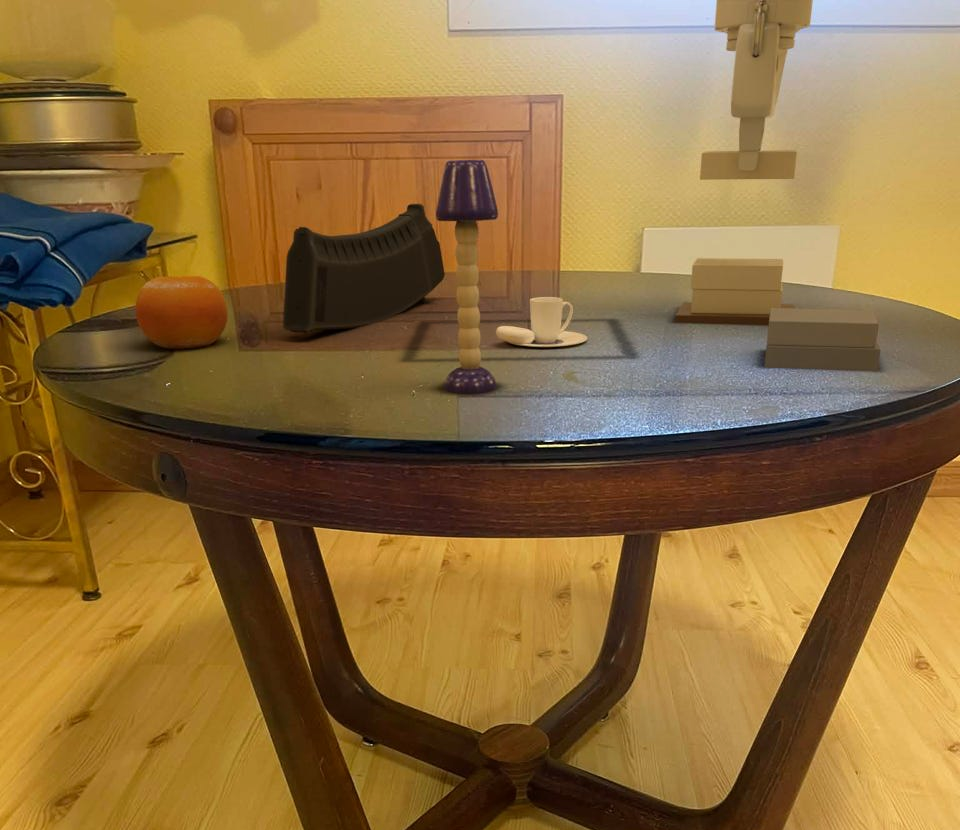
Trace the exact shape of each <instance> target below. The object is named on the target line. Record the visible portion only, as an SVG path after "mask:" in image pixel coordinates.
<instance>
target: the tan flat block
mask: <svg viewBox="0 0 960 830" xmlns="http://www.w3.org/2000/svg"><path fill="white" fill-rule="evenodd" d="M797 155H798V151H797V150H796V149H793V150H792V149H791V150H790V149H789V150H787V149H784V150H783V149H782V150H781V149H780V150H777V149H776V150H761V151H759V153H758V163H757V168H756V169H755V170H754V171H740V170H739V168H738V161H739V150H713V151H710V150H709V151H704V152H701V159H700V173H699V180H702V181H705V180H713V181H715V180H794V179H795V174H796V164H797V157H798V156H797Z"/></svg>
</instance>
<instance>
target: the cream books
mask: <svg viewBox="0 0 960 830" xmlns="http://www.w3.org/2000/svg"><path fill="white" fill-rule="evenodd" d="M783 269H784V259H783V258H726V257H725V258H723V257H722V258H720V257H719V258H715V257H714V258H712V257H705V258H704V257H703V258H702V257H697V258H696V260H695V261H694V262H693V264H692V268H691V278H690V279H691V280H690V289H691V290H692V293H691V294H692V295H691V301H683V302H682V304H681V305H680V307H679V309H678V310H677V312H676V313H675V315H674V323H675V324H708V325H709V324H710V325H711V324H712V325H748V326H749V325H753V326H769V317H770V309H771V308H794V309H795V304H794V303H782V299H783V286H784V285H783V282H782V278H783Z"/></svg>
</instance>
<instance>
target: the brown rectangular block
mask: <svg viewBox="0 0 960 830" xmlns="http://www.w3.org/2000/svg"><path fill="white" fill-rule="evenodd" d="M879 326H880V323H879V321H878V318H877V317H876V314H875V312H874V310H873V309H843V308H842V309H840V308H839V309H837V308H834V309H833V308H795V307H794V308H771V309H770V317H769V325H768V327H767V338H766V347H765V355H764V357H765V358H764V368H769V369H771V368H772V369H773V368H774V369H803V370H804V369H805V370H828V371H829V370H831V371H832V370H833V371H835V370H836V371H858V372H859V371H861V372H862V371H863V372H878V369H879V362H880V355H881V347H880V345H879V342H878V340H877V339H878V332H879Z"/></svg>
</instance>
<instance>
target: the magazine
mask: <svg viewBox="0 0 960 830" xmlns="http://www.w3.org/2000/svg"><path fill="white" fill-rule="evenodd" d="M285 264H286V265H285V278H284V279H285V281H284V282H285V283H284V299H283V300H284V302H283V320H282V328H283V330H285V331H289V332H291V333H302V334H306V333H307V332H309V333H310V332H311V333H312V332H314V331H324V330H325V331H327V330H344V329H345V330H346V329H347V330H348V329H354V328H361V327H363V326H366V325H370V324H373V323H377V322H380V321H382V320H385V319H388V318H391V317H395V316H397V315H399V314H402V313H403V312H405V311H407V310H408V309H410V308H411V307H413V306H414V305H415V304H416V303H417V304H426V303H427V300H426V297H427V296H428V295H429V294H430V293H431V292H432V291H434V290H435V288H436V287H437V286H438V285H439V284H441V282H442V281H443V280H444V278H445V275H446V274H445V267H444V261H443V256H442V249H441V243H440V241H439V240H438V238H437V235H436V231H435V229H434V228H433V224H432V222H430V220H429V219H428V216H427V213H426V211H425V206H424V205H423V203H410V204H408V205H407V207H406V211H405V212H402V213H399V214H398V216H396V217H395V218H393V219H392V220H390V221H388V222H386V223H384V224H382V225H380V226H378V227H374V228H372V229H369V230H366V231H363V232H358V233H350V234H340V235H338V234H337V235H328V234H327V235H325V234H321V233H318V232H316V231H313V230H312V229H310V228H309V227H307V226H299V227H298V228H296V229H295V230H294V231H293V241H292V243H291V245H290V247H289V249H288V251H287V254H286V263H285Z"/></svg>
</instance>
